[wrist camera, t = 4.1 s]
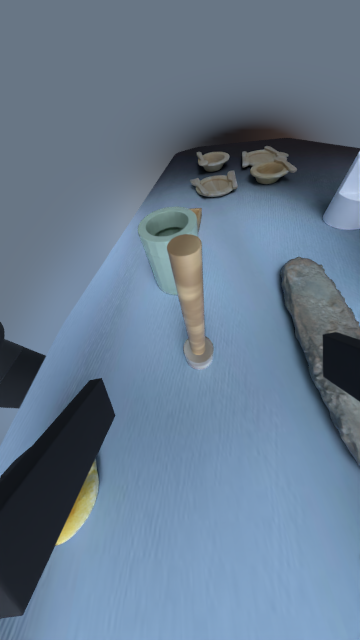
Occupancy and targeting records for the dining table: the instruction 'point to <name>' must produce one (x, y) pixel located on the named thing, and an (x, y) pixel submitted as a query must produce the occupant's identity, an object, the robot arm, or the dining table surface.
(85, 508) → the bread roll
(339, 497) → the dining table surface
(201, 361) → the wooden pestle
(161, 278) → the green cylindrical container
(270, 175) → the tableware set
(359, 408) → the elongated rock
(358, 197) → the base with upright slab
